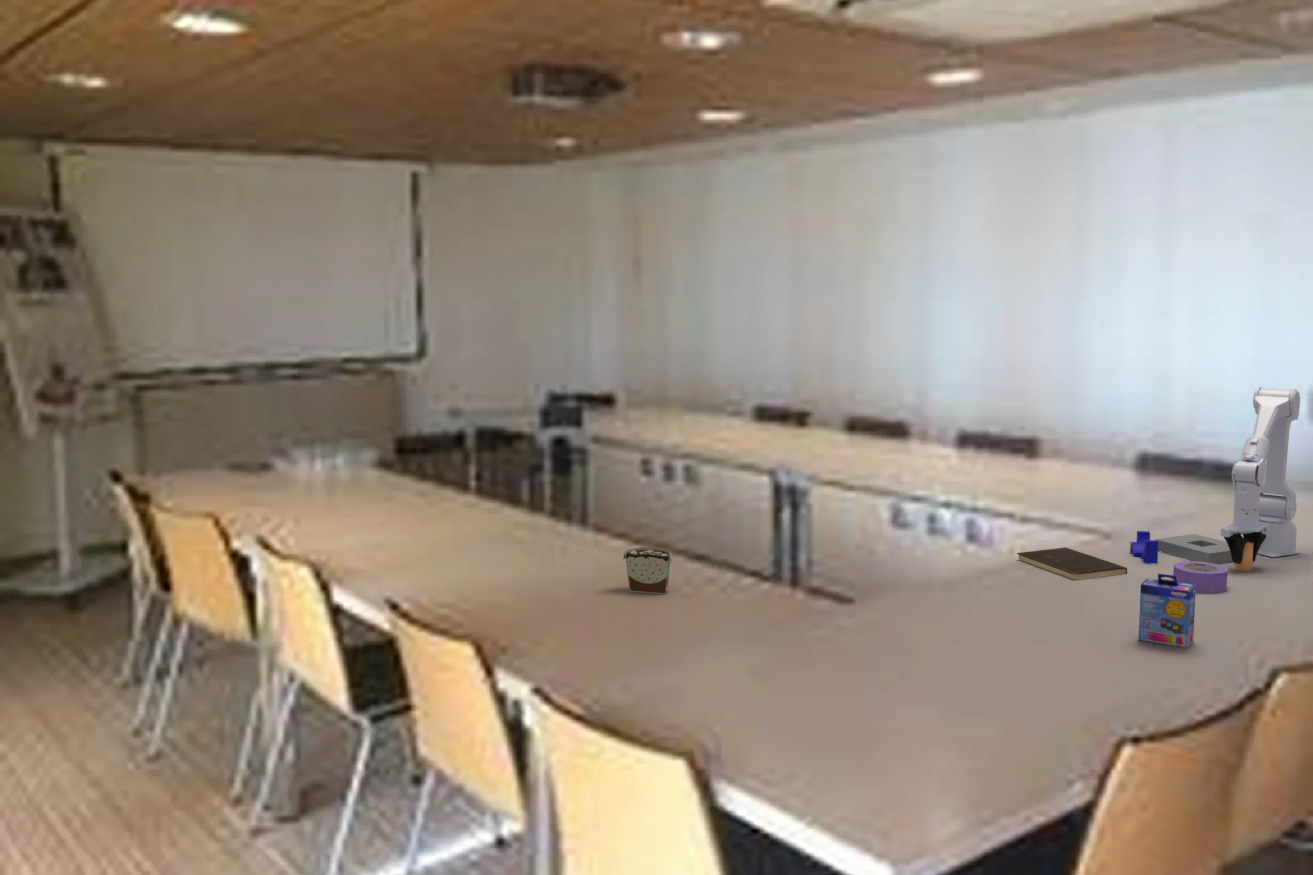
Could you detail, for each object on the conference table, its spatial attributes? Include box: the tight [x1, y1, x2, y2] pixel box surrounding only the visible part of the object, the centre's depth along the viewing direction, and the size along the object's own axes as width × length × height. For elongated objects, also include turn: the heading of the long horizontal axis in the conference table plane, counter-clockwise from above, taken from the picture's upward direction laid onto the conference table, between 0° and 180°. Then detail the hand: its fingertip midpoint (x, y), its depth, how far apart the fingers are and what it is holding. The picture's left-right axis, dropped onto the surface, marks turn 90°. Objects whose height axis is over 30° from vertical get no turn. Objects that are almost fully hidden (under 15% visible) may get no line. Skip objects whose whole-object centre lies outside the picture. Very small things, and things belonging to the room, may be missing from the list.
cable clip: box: [1129, 530, 1159, 564], centre depth 320 cm, size 12×4×6 cm, turn 169°
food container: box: [623, 546, 674, 595], centre depth 296 cm, size 12×6×10 cm, turn 71°
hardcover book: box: [1016, 547, 1128, 581], centre depth 312 cm, size 16×23×2 cm
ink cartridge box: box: [1138, 573, 1196, 648], centre depth 250 cm, size 10×6×14 cm, turn 55°
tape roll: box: [1172, 560, 1229, 594], centre depth 291 cm, size 12×12×5 cm
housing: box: [1154, 533, 1233, 565], centre depth 322 cm, size 14×18×3 cm
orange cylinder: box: [1233, 541, 1254, 573], centre depth 306 cm, size 4×4×7 cm
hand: (1243, 562), depth 306 cm, fingers closed on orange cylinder, 4 cm apart
